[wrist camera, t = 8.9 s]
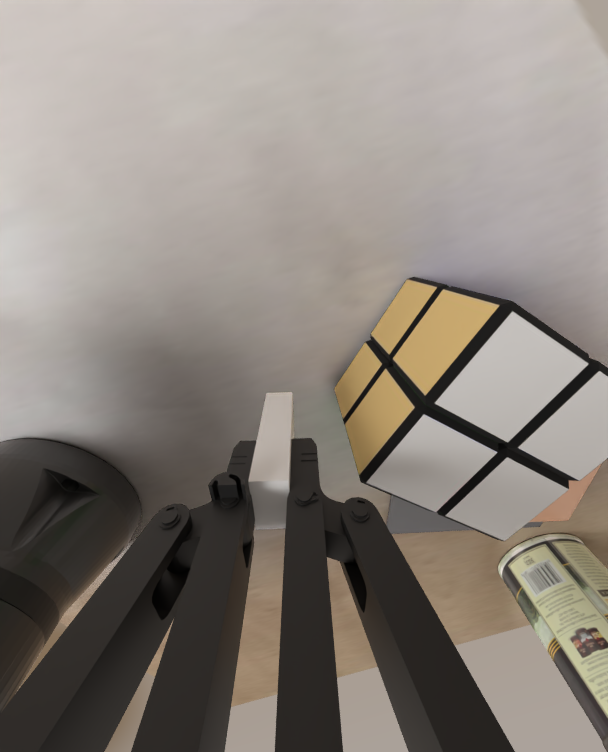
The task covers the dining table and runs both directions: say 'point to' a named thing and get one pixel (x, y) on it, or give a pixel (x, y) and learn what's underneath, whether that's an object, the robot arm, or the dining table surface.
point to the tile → (566, 501)
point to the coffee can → (566, 613)
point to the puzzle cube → (472, 408)
